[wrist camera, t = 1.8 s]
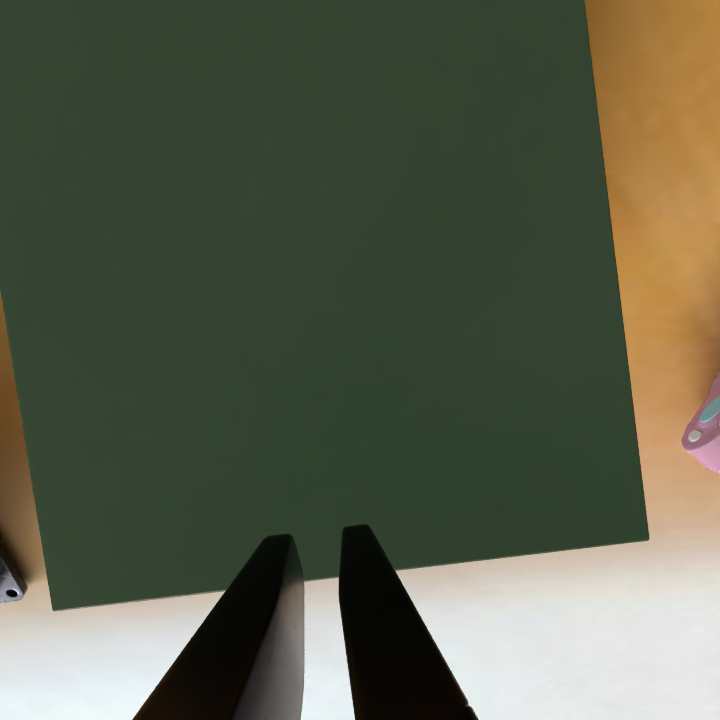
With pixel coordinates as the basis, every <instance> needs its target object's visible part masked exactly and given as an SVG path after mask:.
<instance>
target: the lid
mask: <svg viewBox="0 0 720 720" xmlns="http://www.w3.org/2000/svg"><path fill="white" fill-rule="evenodd" d="M0 291H1V297H2V303H3V310H4V316H5V322H6V328H7V334H8V340H9V346H10V352H11V358H12V365H13V371H14V377H15V383H16V389H17V395H18V401H19V407H20V414H21V420H22V426H23V432H24V438H25V444H26V450H27V456H28V463H29V469H30V475H31V481H32V487H33V493H34V499H35V505H36V512H37V518H38V524H39V530H40V536H41V542H42V548H43V554H44V561H45V567H46V573H47V579H48V585H49V591H50V597H51V603H52V610H53V611H62V610H71V609H79V608H87V607H96V606H104V605H112V604H121V603H129V602H138V601H146V600H154V599H163V598H171V597H180V596H188V595H196V594H205V593H213V592H221V591H226V590H227V588H228V587H229V586H230V584H231V583H232V582H233V580H234V579H235V577H236V576H237V575H238V573H239V572H240V571H241V569H242V568H243V566H244V565H245V564H246V562H247V561H248V560H249V558H250V557H251V555H252V554H253V553H254V551H255V550H256V548H257V547H258V546H259V544H260V543H261V542H262V540H263V539H264V538H265V537H267V536H270V535H278V534H286V533H289V534H291V535H292V536H293V538H294V540H295V544H296V547H297V551H298V555H299V559H300V562H301V566H302V570H303V576H304V582H305V581H314V580H322V579H330V578H339V572H340V556H341V540H342V530H343V528H344V527H346V526H352V525H360V524H368V525H369V526H370V527H371V529H372V531H373V532H374V534H375V536H376V538H377V539H378V541H379V543H380V545H381V547H382V548H383V550H384V552H385V554H386V556H387V557H388V559H389V561H390V563H391V565H392V566H393V568H394V570H395V571H397V570H406V569H414V568H423V567H431V566H439V565H448V564H456V563H464V562H473V561H481V560H490V559H498V558H506V557H515V556H523V555H532V554H540V553H548V552H557V551H565V550H573V549H582V548H590V547H599V546H607V545H615V544H624V543H632V542H641V541H648V540H649V531H648V523H647V515H646V506H645V498H644V490H643V481H642V473H641V465H640V457H639V448H638V440H637V432H636V424H635V415H634V407H633V399H632V390H631V382H630V374H629V366H628V357H627V349H626V341H625V333H624V324H623V316H622V308H621V299H620V291H619V283H618V275H617V266H616V258H615V250H614V242H613V233H612V225H611V217H610V208H609V200H608V192H607V184H606V175H605V167H604V159H603V150H602V142H601V134H600V126H599V117H598V109H597V101H596V93H595V84H594V76H593V68H592V59H591V51H590V43H589V35H588V26H587V18H586V10H585V2H584V0H0Z"/></svg>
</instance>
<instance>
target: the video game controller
mask: <svg viewBox="0 0 720 720" xmlns="http://www.w3.org/2000/svg"><path fill="white" fill-rule="evenodd" d="M682 446H683V448H684V449H685V450H686V451H688V452H689V453H690V454H691V455H692V456H693V457H695V458H696V459H697V460H698V461H699V462H701V463H702V464H703V465H704V466H705V468H706V469H708V470H709V469H711V470H713V471H715V472H717V473H718V474H720V372H719V373H718V374H717V376H716V377H715V379H714V381H713V383H712V386H711V390H710V393H709V395H708V397H707V399H706V400H705V402H704V403H703V405H702V406H701V407H700V409H699V410H698V412H697V413H696V414H695V416H694V417H693V418H692V420H691V421H690V423H689V424H688V426H687V428H686V429H685V432H684V435H683V437H682Z"/></svg>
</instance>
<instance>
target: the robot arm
mask: <svg viewBox="0 0 720 720" xmlns="http://www.w3.org/2000/svg"><path fill="white" fill-rule="evenodd" d="M27 589H28V587H27V585H26V583H25V581H24V579H23V578H22V576H21V574H20V573H19V571H18V569H17V567H16V566H15V564H14V562H13V561H12V559H11V557H10V555H9V554H8V552H7V550H6V549H5V547H4V545H3V543H2V542H1V540H0V603H2V602H10V601H17V600H20V599H22V598H23V596H24V595H25V593H26V591H27ZM339 603H340V611H341V618H342V626H343V633H344V640H345V648H346V655H347V663H348V670H349V677H350V685H351V692H352V700H353V707H354V714H355V720H478V718H477V716H476V714H475V712H474V711H473V709H472V707H470V706H469V705H468V701H467V699H466V697H465V695H464V693H463V692H462V690H461V688H460V686H459V684H458V683H457V681H456V679H455V677H454V675H453V674H452V672H451V670H450V668H449V667H448V665H447V663H446V661H445V659H444V658H443V656H442V654H441V652H440V650H439V649H438V647H437V645H436V643H435V641H434V640H433V638H432V636H431V634H430V633H429V631H428V629H427V627H426V625H425V624H424V622H423V620H422V618H421V616H420V615H419V613H418V611H417V609H416V607H415V606H414V604H413V602H412V600H411V599H410V597H409V595H408V593H407V591H406V590H405V588H404V586H403V584H402V582H401V581H400V579H399V577H398V575H397V573H396V572H395V570H394V568H393V566H392V565H391V563H390V561H389V559H388V557H387V556H386V554H385V552H384V550H383V548H382V547H381V545H380V543H379V541H378V539H377V538H376V536H375V534H374V532H373V531H372V529H371V527H370V526H369V525H368V524H360V525H352V526H346V527H344V528H343V530H342V540H341V556H340V572H339ZM303 690H304V576H303V570H302V566H301V562H300V559H299V555H298V551H297V547H296V544H295V540H294V538H293V536H292V535H291V534H289V533H286V534H278V535H270V536H267V537H265V538H264V539H263V540H262V542H261V543H260V544H259V546H258V547H257V548H256V550H255V551H254V553H253V554H252V555H251V557H250V558H249V560H248V561H247V562H246V564H245V565H244V566H243V568H242V569H241V571H240V572H239V573H238V575H237V576H236V577H235V579H234V580H233V582H232V583H231V584H230V586H229V587H228V588H227V590H226V591H225V593H224V594H223V595H222V597H221V598H220V600H219V601H218V602H217V604H216V605H215V606H214V608H213V609H212V611H211V612H210V613H209V615H208V616H207V617H206V619H205V620H204V622H203V623H202V624H201V626H200V627H199V628H198V630H197V631H196V633H195V634H194V635H193V637H192V638H191V640H190V641H189V642H188V644H187V645H186V646H185V648H184V649H183V651H182V652H181V653H180V655H179V656H178V657H177V659H176V660H175V662H174V663H173V664H172V666H171V667H170V668H169V670H168V671H167V673H166V674H165V675H164V677H163V678H162V679H161V681H160V682H159V684H158V685H157V686H156V688H155V689H154V691H153V692H152V693H151V695H150V696H149V697H148V699H147V700H146V702H145V703H144V704H143V706H142V707H141V708H140V710H139V711H138V713H137V714H136V715H135V717H134V718H133V719H132V720H301V711H302V702H303Z"/></svg>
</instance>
